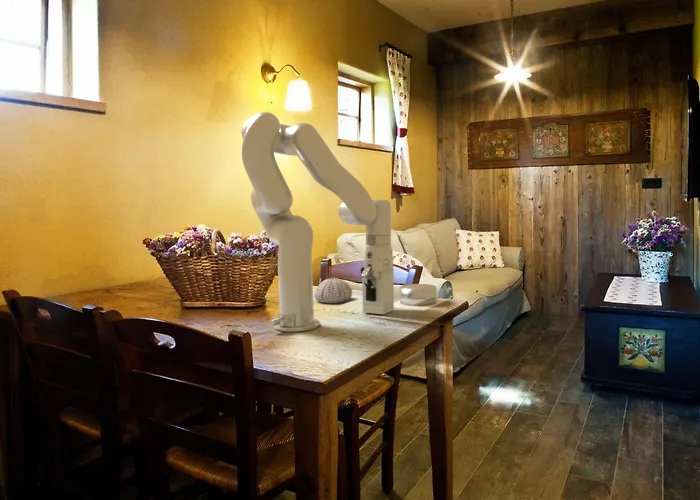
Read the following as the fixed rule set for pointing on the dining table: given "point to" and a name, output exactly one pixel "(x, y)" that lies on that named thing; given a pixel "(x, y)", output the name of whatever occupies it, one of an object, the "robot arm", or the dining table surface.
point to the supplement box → (380, 294)
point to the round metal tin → (418, 295)
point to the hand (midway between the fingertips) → (378, 298)
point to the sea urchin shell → (333, 291)
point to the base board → (398, 305)
